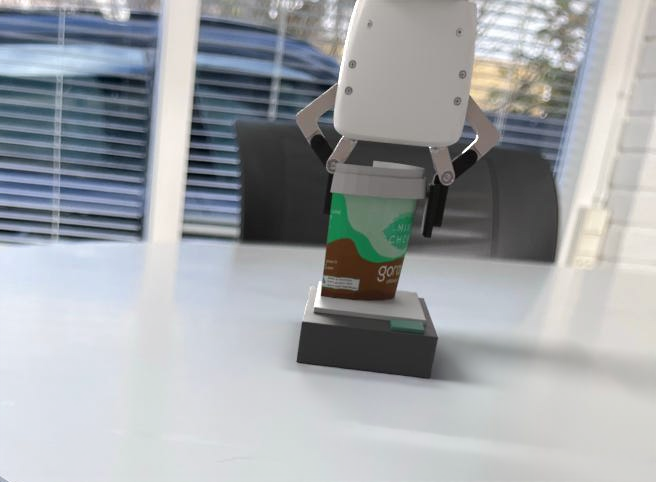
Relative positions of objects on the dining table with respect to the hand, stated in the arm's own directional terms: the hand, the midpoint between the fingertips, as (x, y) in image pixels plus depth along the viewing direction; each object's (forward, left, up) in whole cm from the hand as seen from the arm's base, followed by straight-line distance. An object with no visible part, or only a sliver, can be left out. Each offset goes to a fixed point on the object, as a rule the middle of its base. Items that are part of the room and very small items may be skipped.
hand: (379, 229), depth 87 cm
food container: (0, 0, -5) cm, 5 cm away
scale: (+2, +4, -9) cm, 10 cm away
